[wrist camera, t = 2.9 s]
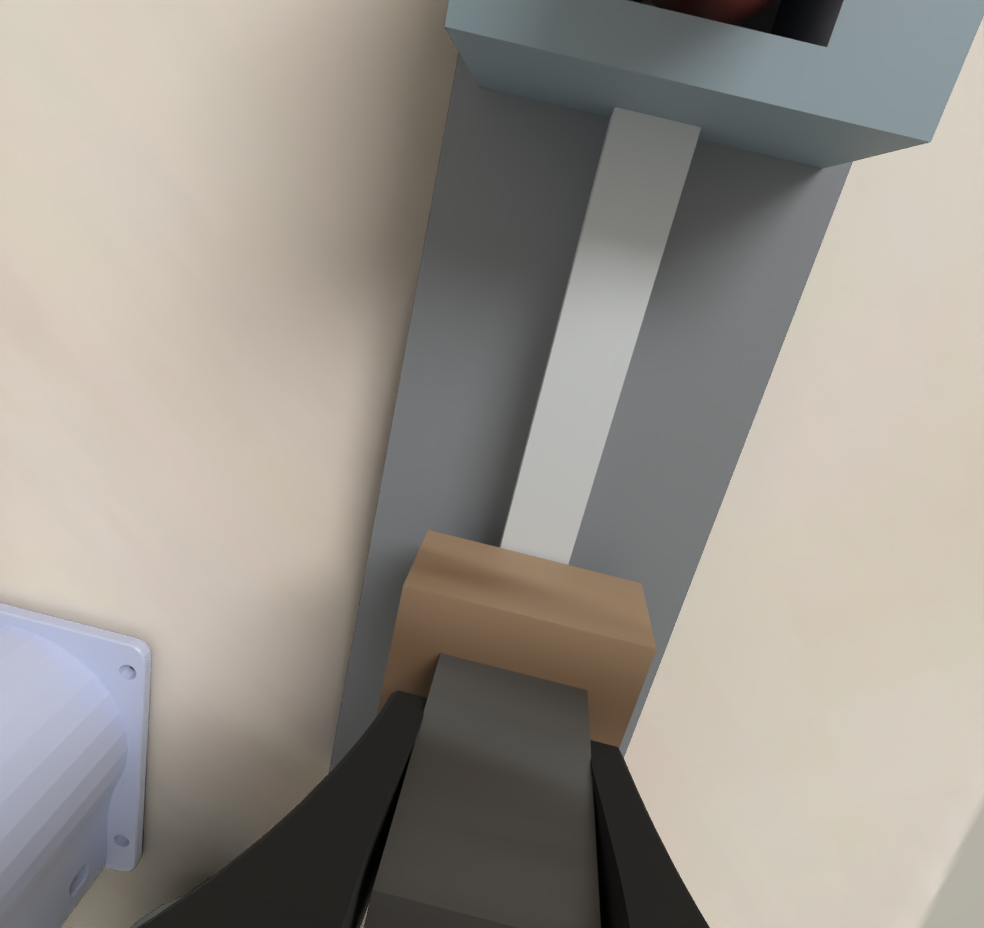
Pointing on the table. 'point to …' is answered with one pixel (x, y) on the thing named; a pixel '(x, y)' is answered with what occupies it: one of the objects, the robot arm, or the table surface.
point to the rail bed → (623, 275)
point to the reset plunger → (716, 8)
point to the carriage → (505, 735)
